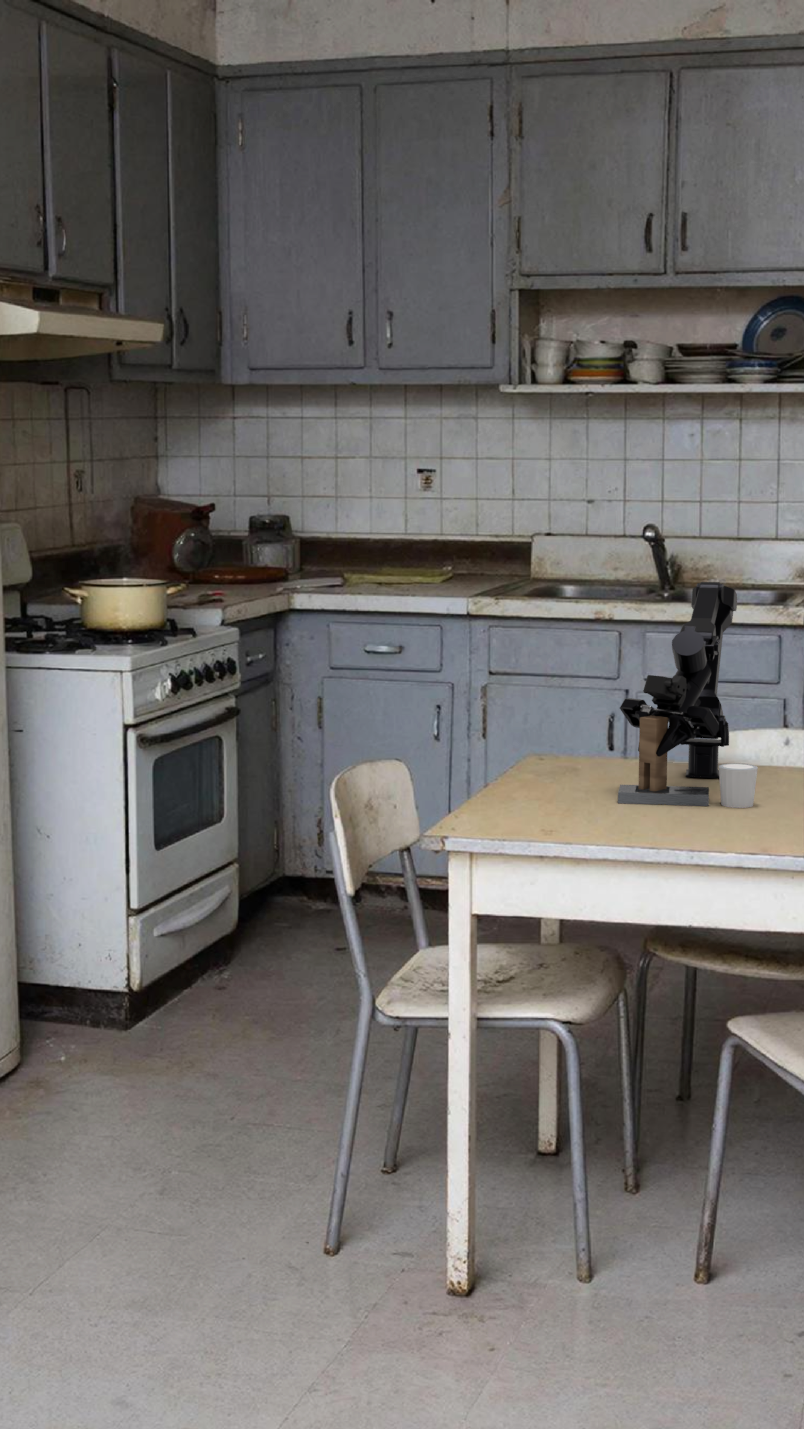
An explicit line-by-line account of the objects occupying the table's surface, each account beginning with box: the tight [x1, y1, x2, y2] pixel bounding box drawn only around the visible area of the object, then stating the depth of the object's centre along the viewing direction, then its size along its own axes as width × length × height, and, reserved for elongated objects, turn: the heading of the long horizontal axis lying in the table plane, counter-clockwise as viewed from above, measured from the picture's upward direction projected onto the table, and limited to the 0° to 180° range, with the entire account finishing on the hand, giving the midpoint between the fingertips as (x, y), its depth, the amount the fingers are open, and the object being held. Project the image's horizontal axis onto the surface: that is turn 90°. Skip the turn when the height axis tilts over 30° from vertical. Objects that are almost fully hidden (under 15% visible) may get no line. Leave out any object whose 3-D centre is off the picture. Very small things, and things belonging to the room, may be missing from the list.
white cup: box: [718, 762, 758, 809], centre depth 299 cm, size 7×7×7 cm
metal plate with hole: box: [617, 784, 710, 807], centre depth 303 cm, size 8×16×2 cm, turn 80°
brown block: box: [638, 716, 669, 791], centre depth 302 cm, size 4×4×13 cm
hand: (648, 753), depth 301 cm, fingers closed on brown block, 4 cm apart
